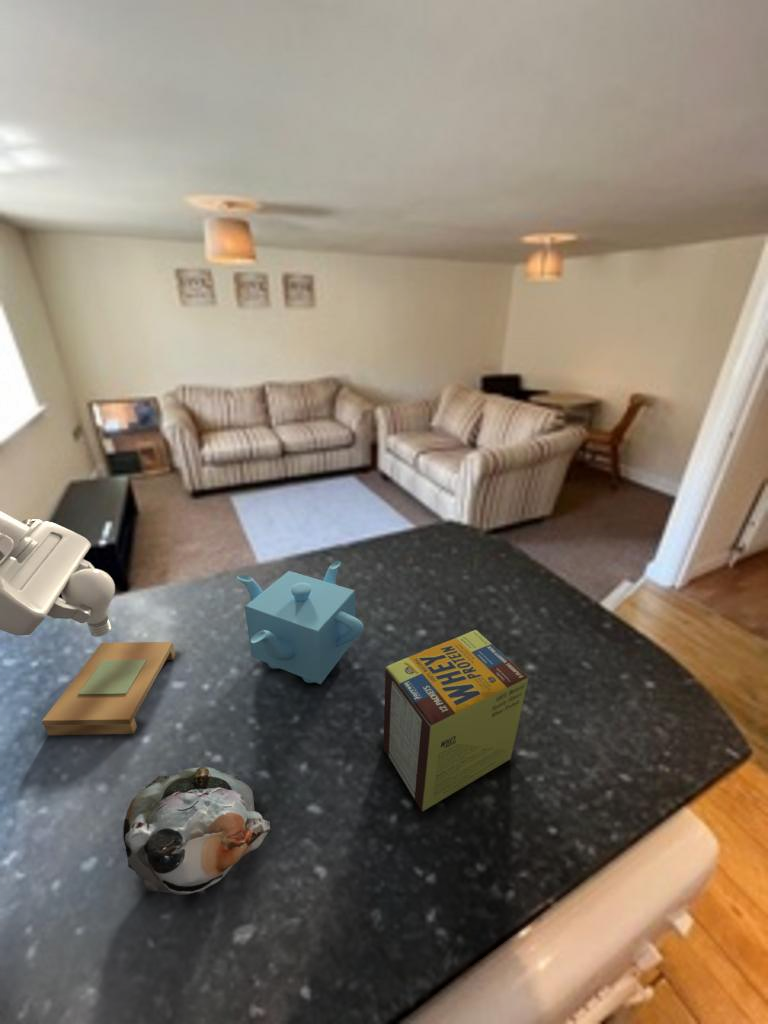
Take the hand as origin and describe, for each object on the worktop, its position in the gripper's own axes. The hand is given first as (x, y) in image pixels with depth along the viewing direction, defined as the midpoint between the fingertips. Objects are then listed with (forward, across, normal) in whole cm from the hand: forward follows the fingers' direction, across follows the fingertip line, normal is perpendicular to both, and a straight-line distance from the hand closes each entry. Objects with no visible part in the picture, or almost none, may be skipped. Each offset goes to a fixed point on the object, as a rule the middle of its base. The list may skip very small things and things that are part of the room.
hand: (97, 600), depth 65 cm
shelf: (+12, 0, -13) cm, 17 cm away
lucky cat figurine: (+23, +27, -2) cm, 36 cm away
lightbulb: (+4, 0, -5) cm, 6 cm away
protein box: (+45, +23, +20) cm, 55 cm away
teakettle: (+32, -1, +8) cm, 33 cm away
